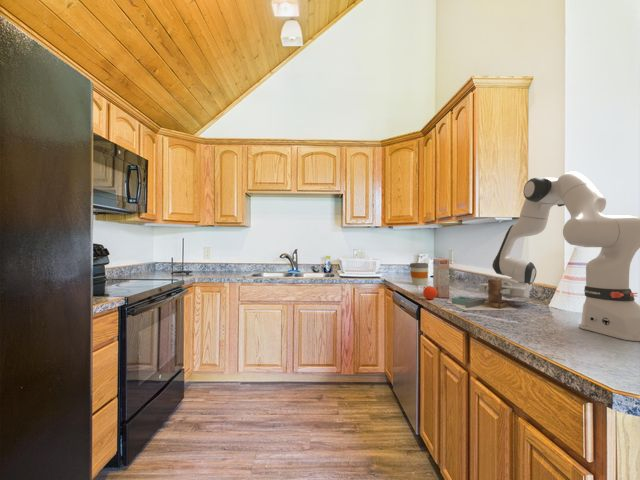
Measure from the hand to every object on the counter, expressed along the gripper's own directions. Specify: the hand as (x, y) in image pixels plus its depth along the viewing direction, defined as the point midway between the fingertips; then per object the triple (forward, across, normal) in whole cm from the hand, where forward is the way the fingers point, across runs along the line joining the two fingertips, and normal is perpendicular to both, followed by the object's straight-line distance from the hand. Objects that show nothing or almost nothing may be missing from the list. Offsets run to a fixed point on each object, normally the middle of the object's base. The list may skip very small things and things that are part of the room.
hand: (494, 291), depth 143 cm
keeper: (-1, 0, +7) cm, 7 cm away
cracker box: (-11, -35, +8) cm, 38 cm away
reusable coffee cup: (-42, -74, +8) cm, 86 cm away
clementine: (+3, -32, +8) cm, 34 cm away
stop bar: (-1, 0, +7) cm, 7 cm away
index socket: (+4, -12, +8) cm, 15 cm away
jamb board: (+2, -6, +8) cm, 10 cm away
